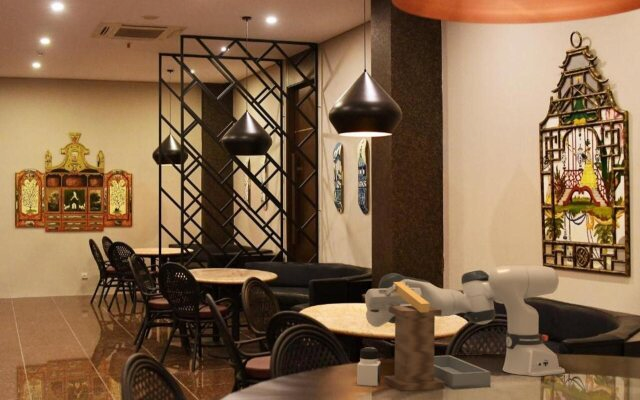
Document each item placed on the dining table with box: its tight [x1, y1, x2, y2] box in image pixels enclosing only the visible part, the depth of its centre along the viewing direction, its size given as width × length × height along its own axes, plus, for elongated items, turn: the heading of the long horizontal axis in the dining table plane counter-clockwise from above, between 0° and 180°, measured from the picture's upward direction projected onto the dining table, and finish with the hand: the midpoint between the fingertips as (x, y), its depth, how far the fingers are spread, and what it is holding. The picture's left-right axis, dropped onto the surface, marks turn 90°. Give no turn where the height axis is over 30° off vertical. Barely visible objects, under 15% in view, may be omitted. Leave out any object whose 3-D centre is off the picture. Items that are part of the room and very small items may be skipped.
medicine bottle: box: [356, 347, 382, 387], centre depth 275 cm, size 7×7×12 cm
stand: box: [383, 306, 446, 392], centre depth 273 cm, size 16×14×26 cm
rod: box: [393, 282, 430, 312], centre depth 277 cm, size 3×24×3 cm, turn 18°
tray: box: [434, 355, 492, 390], centre depth 284 cm, size 14×30×5 cm, turn 18°
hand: (401, 287), depth 285 cm, fingers closed on rod, 3 cm apart
